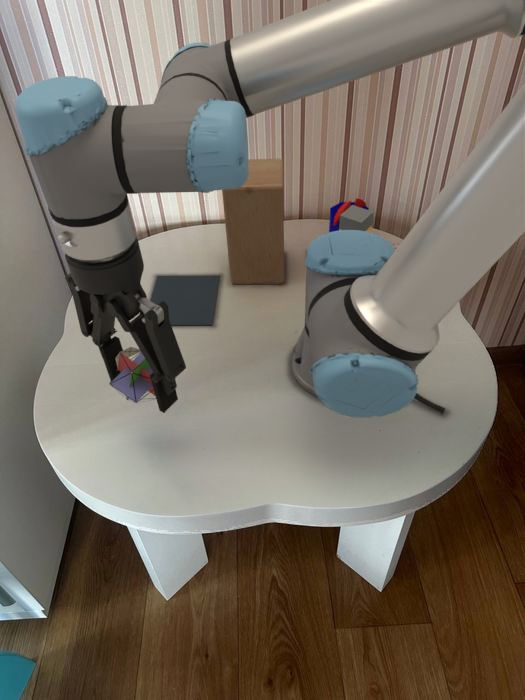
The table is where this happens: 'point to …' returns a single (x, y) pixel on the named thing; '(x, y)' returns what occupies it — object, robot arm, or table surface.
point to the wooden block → (256, 225)
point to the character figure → (356, 219)
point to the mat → (187, 298)
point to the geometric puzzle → (132, 375)
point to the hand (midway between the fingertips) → (144, 391)
